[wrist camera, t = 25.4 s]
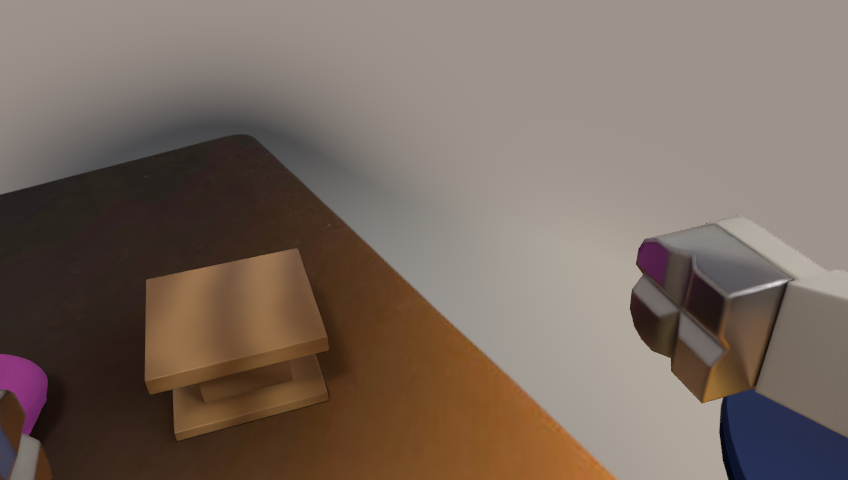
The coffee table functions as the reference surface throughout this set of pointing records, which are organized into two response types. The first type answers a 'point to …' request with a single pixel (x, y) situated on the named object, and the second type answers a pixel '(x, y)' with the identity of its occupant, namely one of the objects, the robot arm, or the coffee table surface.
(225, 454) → the coffee table surface
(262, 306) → the stand
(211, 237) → the coffee table surface
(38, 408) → the donut
